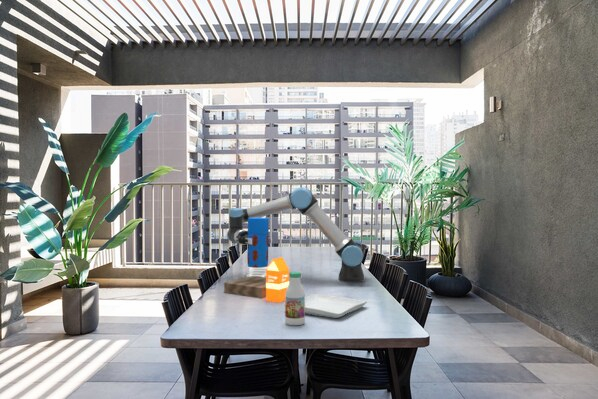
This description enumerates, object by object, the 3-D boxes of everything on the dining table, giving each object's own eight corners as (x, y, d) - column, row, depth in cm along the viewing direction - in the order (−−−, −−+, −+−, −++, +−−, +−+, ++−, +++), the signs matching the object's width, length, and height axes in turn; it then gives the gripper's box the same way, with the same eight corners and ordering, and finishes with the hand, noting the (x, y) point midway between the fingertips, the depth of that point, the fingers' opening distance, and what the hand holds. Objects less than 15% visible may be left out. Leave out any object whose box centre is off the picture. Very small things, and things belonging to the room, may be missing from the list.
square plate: (340, 322, 189) (340, 313, 188) (283, 313, 203) (283, 304, 203) (367, 308, 212) (367, 299, 211) (314, 300, 226) (314, 292, 226)
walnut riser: (289, 289, 249) (289, 280, 249) (261, 298, 229) (261, 288, 229) (253, 284, 262) (253, 275, 262) (224, 292, 242) (224, 282, 242)
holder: (261, 283, 267) (261, 279, 267) (230, 282, 270) (230, 278, 270) (277, 270, 312) (277, 266, 312) (251, 269, 315) (251, 265, 315)
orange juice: (289, 298, 228) (289, 257, 228) (279, 302, 221) (279, 259, 220) (275, 296, 232) (275, 256, 232) (265, 300, 224) (265, 258, 224)
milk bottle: (284, 320, 190) (284, 271, 189) (303, 320, 190) (303, 270, 190) (285, 326, 182) (285, 274, 182) (305, 325, 183) (305, 274, 182)
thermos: (264, 268, 240) (265, 219, 239) (244, 267, 242) (245, 218, 241) (270, 264, 250) (270, 217, 250) (251, 264, 253) (251, 217, 252)
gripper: (262, 242, 267) (281, 246, 249) (223, 245, 255) (240, 249, 236) (262, 229, 267) (281, 232, 248) (223, 231, 255) (240, 234, 236)
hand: (261, 241), depth 242 cm, fingers closed on thermos, 11 cm apart
